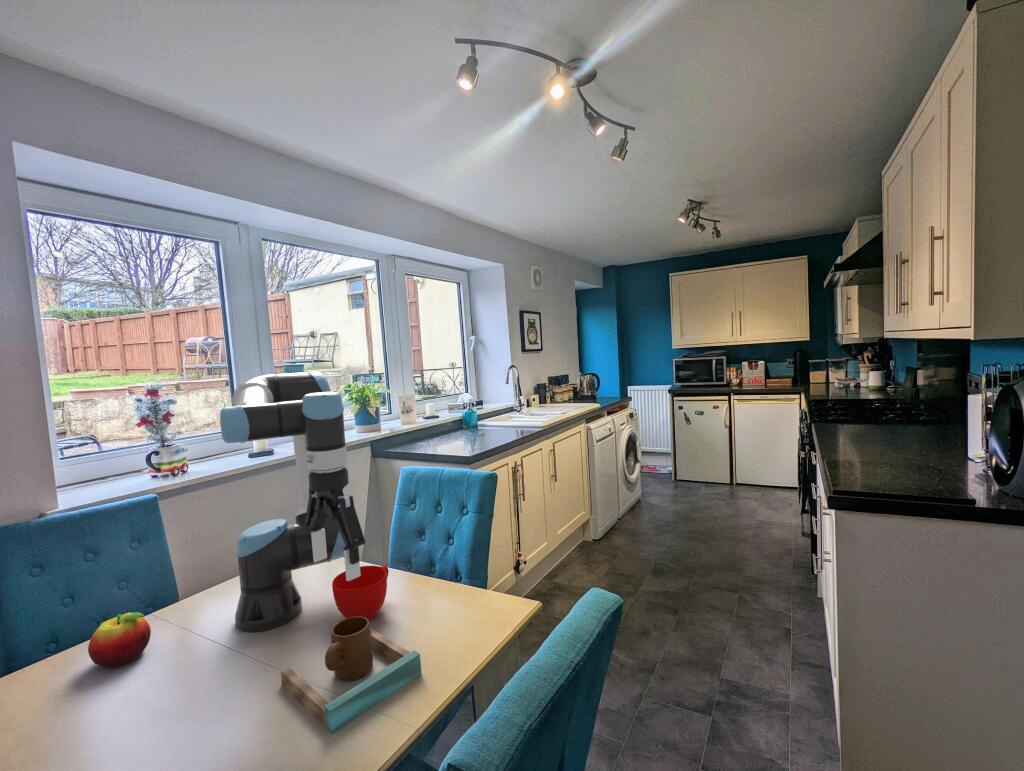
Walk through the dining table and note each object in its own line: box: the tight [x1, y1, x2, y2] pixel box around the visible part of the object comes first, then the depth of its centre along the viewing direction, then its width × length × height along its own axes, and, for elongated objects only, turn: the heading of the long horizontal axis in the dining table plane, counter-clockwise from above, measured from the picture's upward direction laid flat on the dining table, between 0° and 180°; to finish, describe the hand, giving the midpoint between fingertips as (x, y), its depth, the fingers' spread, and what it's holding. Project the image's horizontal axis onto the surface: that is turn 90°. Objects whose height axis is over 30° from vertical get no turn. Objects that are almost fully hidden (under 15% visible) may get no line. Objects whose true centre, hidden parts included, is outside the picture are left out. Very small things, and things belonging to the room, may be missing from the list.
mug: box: [324, 616, 374, 682], centre depth 94 cm, size 12×8×9 cm, turn 167°
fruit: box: [87, 611, 152, 669], centre depth 104 cm, size 11×11×10 cm
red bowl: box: [331, 565, 389, 622], centre depth 118 cm, size 13×17×10 cm
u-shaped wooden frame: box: [280, 627, 422, 734], centre depth 93 cm, size 20×19×4 cm
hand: (336, 568), depth 97 cm, fingers open, 13 cm apart
